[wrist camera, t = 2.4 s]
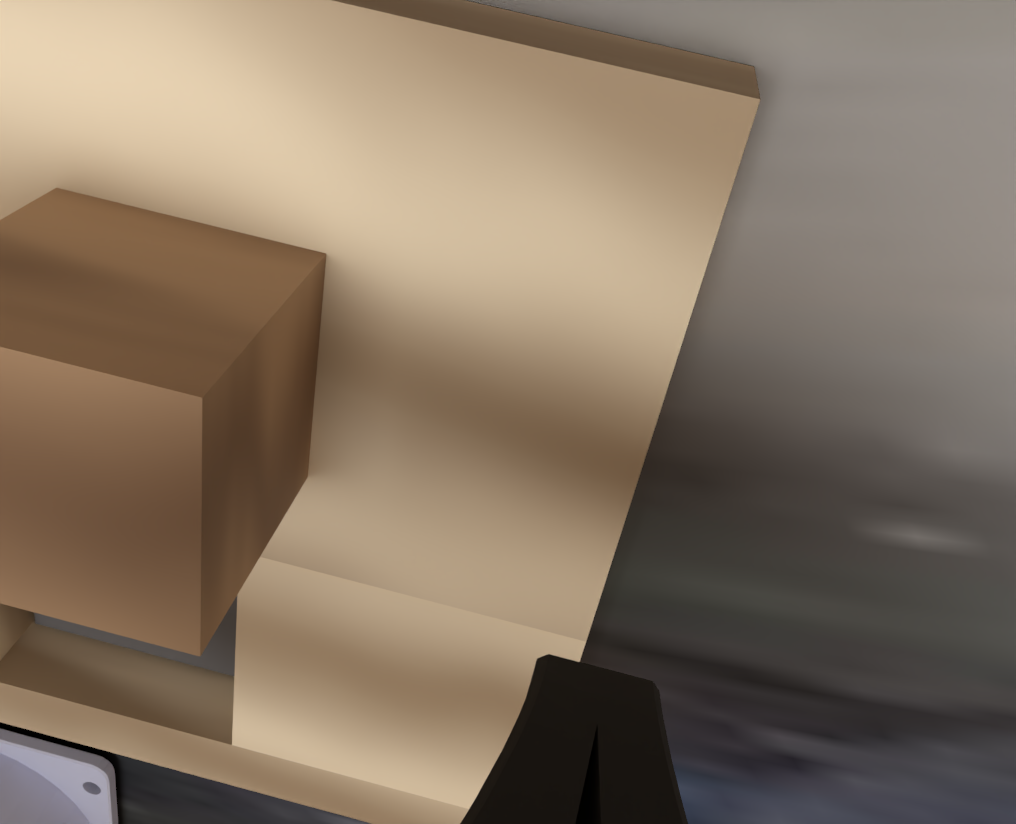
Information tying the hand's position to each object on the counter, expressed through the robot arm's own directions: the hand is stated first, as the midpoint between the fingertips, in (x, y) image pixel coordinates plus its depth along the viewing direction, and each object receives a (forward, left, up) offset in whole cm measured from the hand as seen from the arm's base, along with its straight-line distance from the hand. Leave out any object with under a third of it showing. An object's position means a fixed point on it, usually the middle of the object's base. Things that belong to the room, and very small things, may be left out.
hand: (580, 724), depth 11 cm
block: (0, +8, -6) cm, 10 cm away
